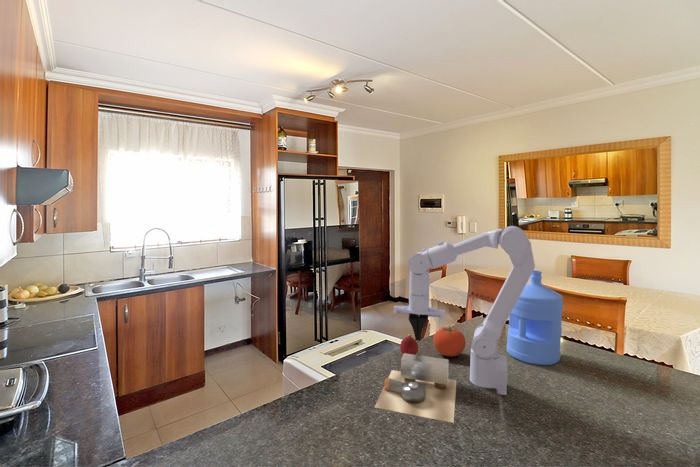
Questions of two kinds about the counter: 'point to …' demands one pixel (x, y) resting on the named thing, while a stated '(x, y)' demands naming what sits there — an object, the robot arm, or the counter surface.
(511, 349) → the water jug
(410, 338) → the onion
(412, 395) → the grey lidded pan
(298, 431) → the counter surface
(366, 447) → the counter surface
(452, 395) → the wooden board
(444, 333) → the tomato
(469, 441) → the counter surface
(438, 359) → the grey long rectangular block
